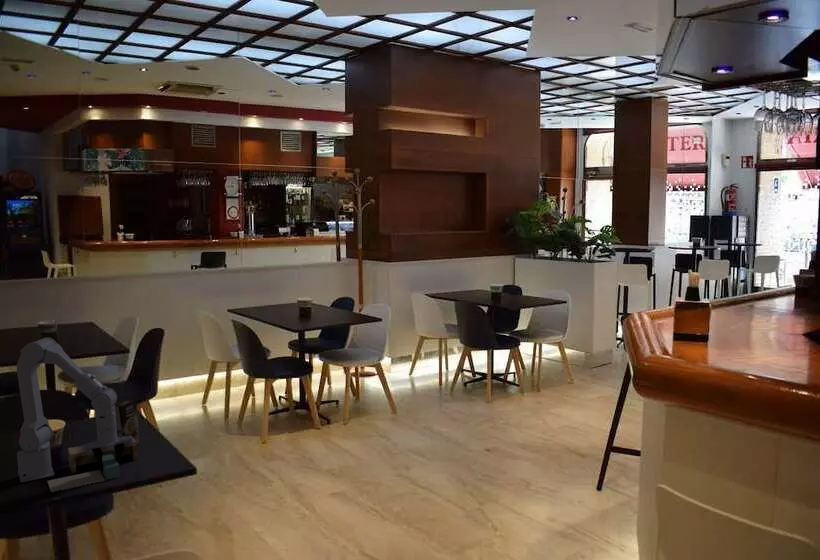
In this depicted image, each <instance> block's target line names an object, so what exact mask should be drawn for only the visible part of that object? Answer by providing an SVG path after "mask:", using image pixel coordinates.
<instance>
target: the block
mask: <svg viewBox="0 0 820 560" xmlns="http://www.w3.org/2000/svg"><path fill="white" fill-rule="evenodd" d="M102 462H103V471H102V472H101V474H102V475H103V477H104V479H105V481H108V479H109V480H112V479H113V478H114V479H118V478H121V474H120V473H121V472H120V464H118V462H117V461H116V459H115V458H114V456H113V455H112V454H110V455H105V456H102Z"/></svg>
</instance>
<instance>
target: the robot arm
mask: <svg viewBox="0 0 820 560" xmlns="http://www.w3.org/2000/svg"><path fill="white" fill-rule="evenodd" d="M42 364H44V365H45V364H48V365H49V364H50V365H56V367H58V368H59V369H60V370H62V371H63V372H64V373H66V375H68V376H70V378H71V379H73V380H74V381H75V383H74V385H75V387H76V388H77V389H78V390H79V391H80V392H81V393H82V394H83V395H85V396H86V397H87V398H88V399H89V400H90V401H91V402H90V403H91V406H92V408H93V409H94V410H95V421H96V422H95V423H96V433H97V434H96V435H97V440H95V441H92V442H88V443H86V444H82V445H81V446H83V452H87V451H90V450H92V452H93V453H94V455H95V457H96V459H97V461H98V462H97V463H98V465H99V467H98V468H99V470H100V472H101V473H102V471H103V462H102V451H101V448H106V447H111V446H114V449H115V459H116V461H117V462H118V464H119V465H120V463H121V459H122V457H121V456H122V453H123V451H124V449H125V446H124V444H126V443H133V442H132V436H126V437H117V428H116V413H115V405H114V404H115V403H116V402H118V393H117V392H116V391H115V389H114V388H111V387H107V386H106V385H104V384H103V383H101V381H99V380H98V379H97V376H96V375H95V373H94V374H92V373H90V372H84V371H83V370H82V369H81V368H80V367H79V366H78V364H76V362H74V361H73V359H72V358H70V356H69V355H68V354H67V353H66V352H65V351H64V349H63V347H62V346H61V344H59V343H57V341H55V339H53V338H51V337H50V336H49V337H48V336H46V337H42V338H41V339H39V340H36V341H33V342H32V341H31V342H29V343H27V344H26V345H25V346H24V347H23V348H21V349H20V355H19V357H18V360H17V362H16V368H15V369H16V373H17V379H18V380H17V381H18V387H19V394H20V400H21V401H20V402H21V406H22V413H23V423H22V425H21V428H20V436H19V439H18V444H19V446H20V448H21V449H22V450H19V451H17V453H16V455H17V458H16V459H17V466H18V467H17V468H18V469H17V475H18V478H19V480H20V481H19V482H20V483H26V482H30V481H35V480H36V481H37V480H39V479H43V478H45V479H46V478H49V477H54V476H55V475H56V474H55V472H54V469H53V467H52V456H51V455H52V454H51V443H50V441H51V440H52V438H53V436H54V431H53V430H54V429H52V427H51V425H50V422H49V419H47V417H45V416H44V411H43V410H44V409H43V404H42V396H41V390H40V384H39V383H40V382H39V376H38V368H39V367H40V365H42ZM112 405H113V406H112Z"/></svg>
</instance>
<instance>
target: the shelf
mask: <svg viewBox="0 0 820 560" xmlns="http://www.w3.org/2000/svg"><path fill="white" fill-rule="evenodd" d="M132 442H133V443H126V444H124V446H125V449H124V451H123V453H122V456H121V458H123V457H129V456H130V457H131V458H132V460H133V461H137V459H138V448H137V445H138V444H137V443H136V441H135V439H134V438H133V437H132ZM101 451H102V456H105V455H110V454H112V455H113V456H114V458H115V449H114V446H111V447H106V448H101ZM67 454H68V464H69V465H68V466H69V469H70V471H71V473H72V474H75V473H77V466H78V465H79V466H83V465H89V464H92V463H98V461H97V459H96V457H95V455H94V453H93V452H92V450H90V451H87V452H83V446H82V445H80V446H79V445H78V446H74V447H68V448H67Z"/></svg>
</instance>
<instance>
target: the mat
mask: <svg viewBox="0 0 820 560" xmlns="http://www.w3.org/2000/svg"><path fill="white" fill-rule="evenodd" d="M105 481H106V479H105V477H104V475H103V473H102V472H101V471H100V469H97V470H92V471H87V472H84V473H78V474H75V475H74V474H72V475H69V476H63V477H58V478H54V479H50V480H47V485H48V488H49V490H50V493H51V492H52V493H55V491H57V492H60V491H59V490H61V491H64V490H65V489H66V490H70V489H74V487H75V488H78V487H82V486H83V485H84V486H88V485H87V484H89V485H92V484H91V483H93V484H97V482H98V483H101V482H105ZM66 490H65V491H66Z"/></svg>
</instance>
